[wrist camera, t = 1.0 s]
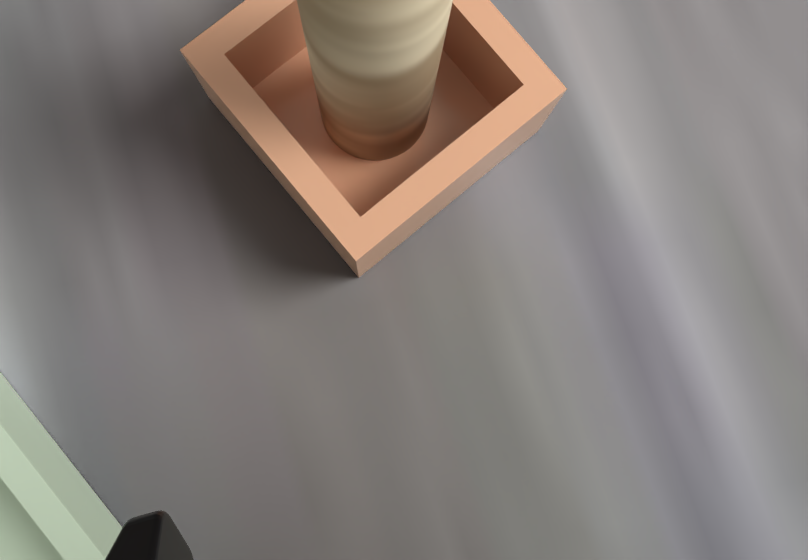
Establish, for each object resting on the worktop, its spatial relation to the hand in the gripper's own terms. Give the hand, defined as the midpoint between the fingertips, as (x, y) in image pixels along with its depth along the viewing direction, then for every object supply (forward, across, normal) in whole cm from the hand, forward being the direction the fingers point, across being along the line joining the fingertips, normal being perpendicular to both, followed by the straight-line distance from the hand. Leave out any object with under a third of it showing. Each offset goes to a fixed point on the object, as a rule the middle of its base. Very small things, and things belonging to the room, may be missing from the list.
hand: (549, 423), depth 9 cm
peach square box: (+16, 0, +3) cm, 16 cm away
